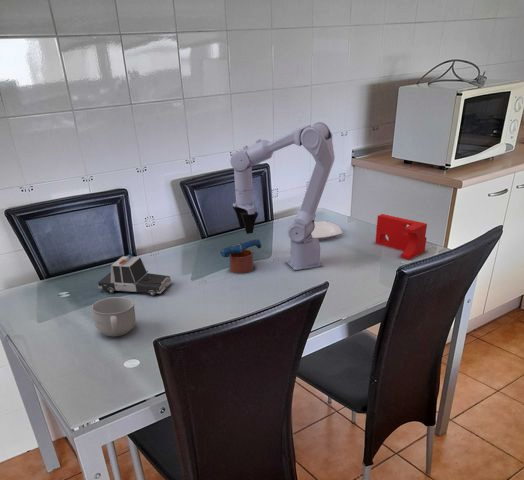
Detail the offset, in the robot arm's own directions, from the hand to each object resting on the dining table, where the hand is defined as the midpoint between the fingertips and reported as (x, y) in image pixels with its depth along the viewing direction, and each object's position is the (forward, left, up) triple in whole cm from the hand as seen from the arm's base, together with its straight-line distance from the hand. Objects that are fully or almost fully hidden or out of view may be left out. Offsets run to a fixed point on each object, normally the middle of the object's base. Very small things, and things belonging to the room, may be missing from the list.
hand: (246, 229), depth 171 cm
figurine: (+4, +8, -5) cm, 10 cm away
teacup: (+48, +38, -11) cm, 62 cm away
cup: (+4, +8, -10) cm, 14 cm away
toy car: (+40, +10, -11) cm, 43 cm away
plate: (-32, -14, -9) cm, 36 cm away
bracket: (-51, +13, -11) cm, 53 cm away
